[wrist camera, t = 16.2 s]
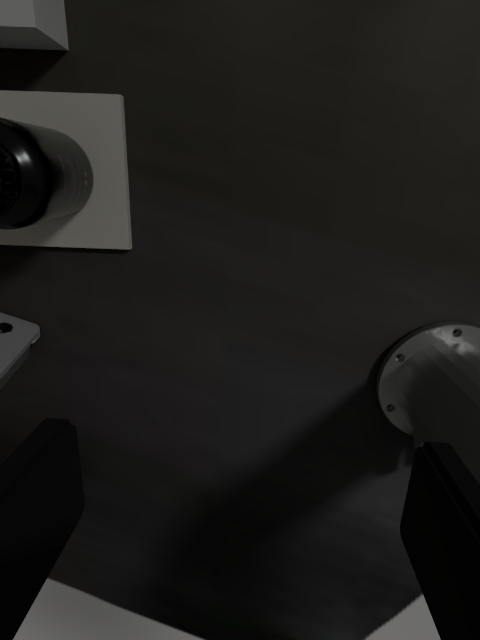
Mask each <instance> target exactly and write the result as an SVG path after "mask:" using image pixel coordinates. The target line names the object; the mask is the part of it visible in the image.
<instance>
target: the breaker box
mask: <svg viewBox="0 0 480 640" xmlns="http://www.w3.org/2000/svg"><path fill="white" fill-rule="evenodd" d="M0 48H15V49H42V50H69V49H68V38H67V28H66V18H65V8H64V0H0Z"/></svg>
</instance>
